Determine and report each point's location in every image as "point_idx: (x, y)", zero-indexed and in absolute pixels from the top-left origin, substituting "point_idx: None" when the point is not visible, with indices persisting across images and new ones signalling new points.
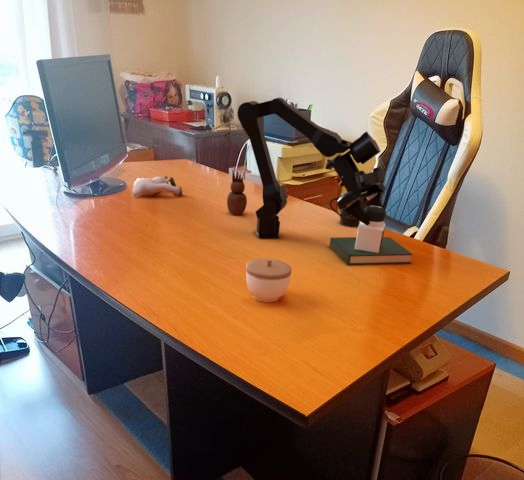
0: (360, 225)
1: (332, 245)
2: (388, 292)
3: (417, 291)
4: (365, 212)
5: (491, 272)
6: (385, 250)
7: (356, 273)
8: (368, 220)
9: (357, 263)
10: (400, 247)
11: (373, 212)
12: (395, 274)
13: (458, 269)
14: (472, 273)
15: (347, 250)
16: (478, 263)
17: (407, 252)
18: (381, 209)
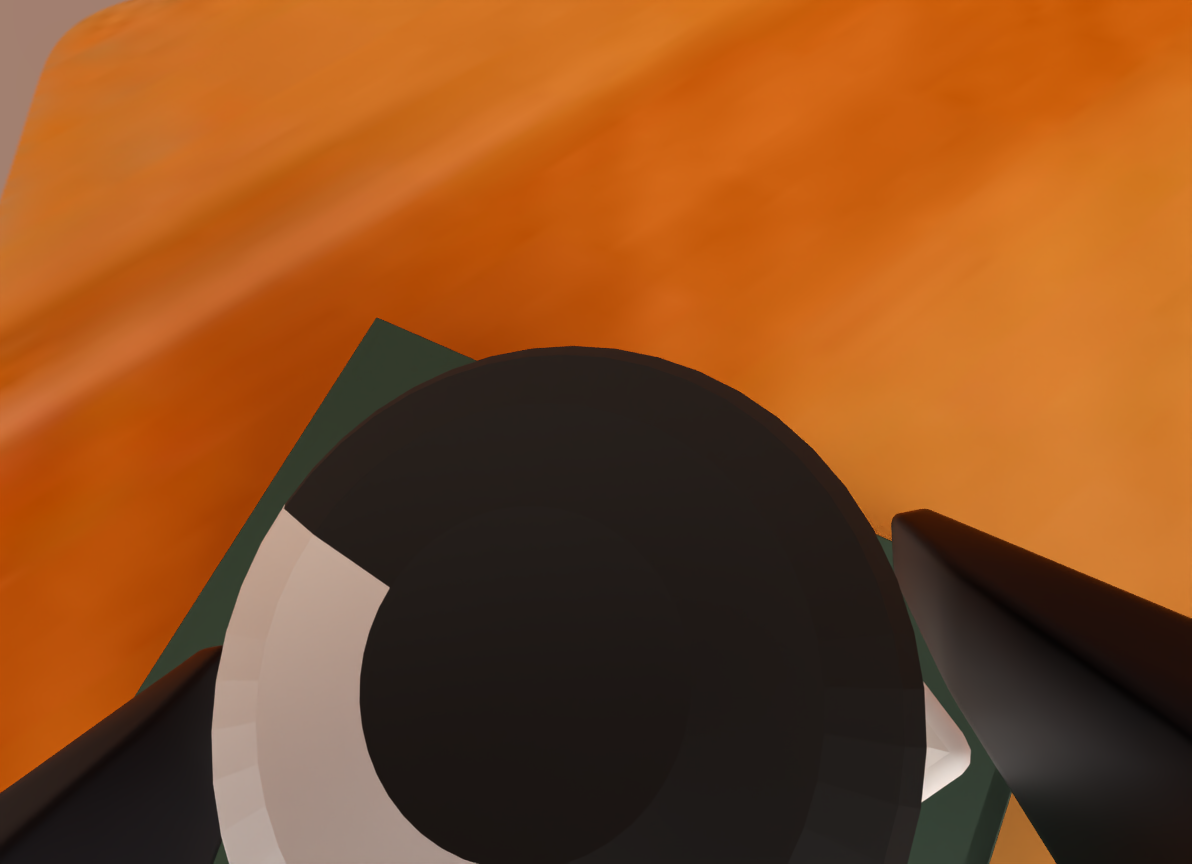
0: (934, 745)
1: None
2: (1073, 75)
3: (840, 21)
4: (1111, 660)
5: (130, 43)
6: None
7: (1070, 430)
8: (957, 532)
9: None
10: None
11: (842, 490)
12: (733, 265)
13: (237, 143)
14: (235, 73)
15: (971, 753)
16: (28, 155)
17: (384, 359)
18: (501, 429)
